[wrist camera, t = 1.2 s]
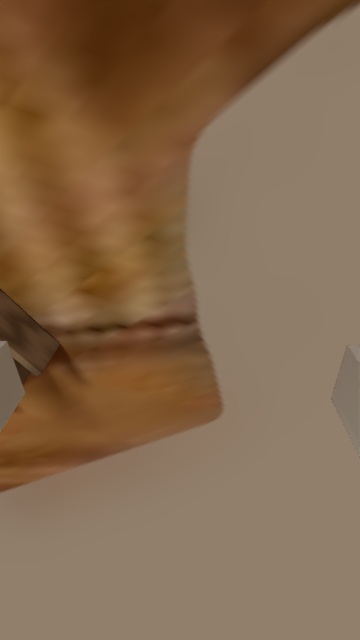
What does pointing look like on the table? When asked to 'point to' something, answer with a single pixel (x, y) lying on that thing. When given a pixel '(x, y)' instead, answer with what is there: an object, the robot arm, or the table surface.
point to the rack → (25, 339)
